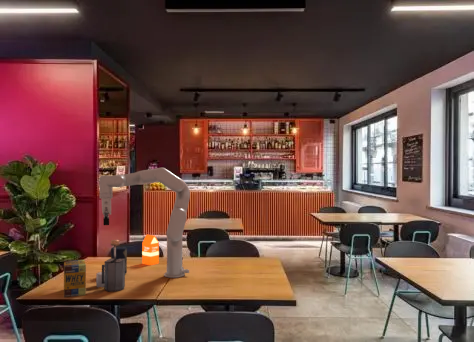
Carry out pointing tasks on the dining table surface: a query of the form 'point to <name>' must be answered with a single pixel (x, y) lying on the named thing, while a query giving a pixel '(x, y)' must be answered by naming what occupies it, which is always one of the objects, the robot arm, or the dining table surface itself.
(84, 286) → the protein box
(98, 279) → the glossy white dome
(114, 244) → the plunger
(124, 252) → the canister
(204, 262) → the dining table surface
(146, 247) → the orange juice
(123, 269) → the carafe
